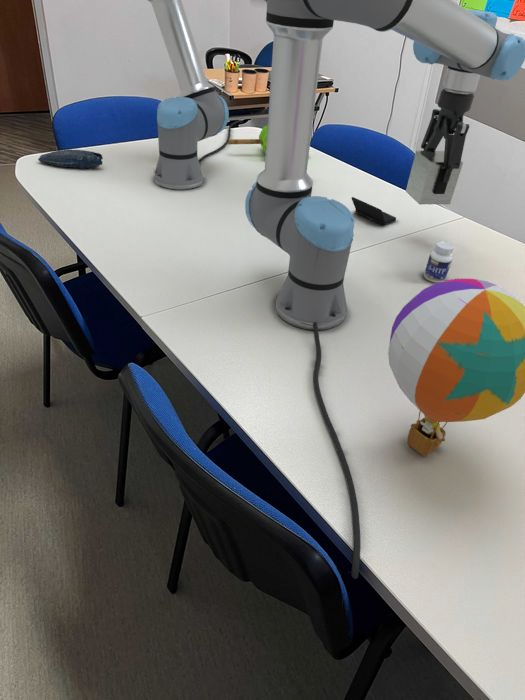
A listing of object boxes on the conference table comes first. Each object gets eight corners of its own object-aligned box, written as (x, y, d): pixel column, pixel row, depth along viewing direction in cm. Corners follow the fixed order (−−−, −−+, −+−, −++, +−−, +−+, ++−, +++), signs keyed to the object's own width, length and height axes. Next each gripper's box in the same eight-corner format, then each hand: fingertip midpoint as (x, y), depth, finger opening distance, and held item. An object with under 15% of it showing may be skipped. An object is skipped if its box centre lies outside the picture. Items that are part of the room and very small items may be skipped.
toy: (336, 437, 84) (375, 278, 66) (409, 388, 95) (460, 239, 76) (438, 521, 73) (519, 358, 55) (507, 455, 84) (595, 300, 65)
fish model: (99, 172, 164) (97, 156, 161) (35, 165, 165) (32, 149, 162) (106, 165, 170) (105, 149, 167) (44, 159, 171) (41, 143, 168)
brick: (449, 204, 133) (463, 162, 126) (419, 204, 131) (431, 162, 125) (434, 191, 139) (447, 151, 133) (405, 191, 138) (416, 150, 131)
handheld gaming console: (400, 212, 153) (393, 191, 145) (389, 233, 152) (381, 212, 144) (365, 206, 159) (356, 185, 151) (355, 225, 158) (345, 205, 150)
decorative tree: (225, 119, 187) (305, 119, 192) (225, 149, 194) (302, 148, 199) (232, 134, 173) (318, 133, 179) (232, 165, 180) (315, 164, 185)
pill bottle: (422, 279, 126) (432, 247, 121) (424, 270, 130) (434, 238, 125) (444, 285, 125) (455, 252, 120) (446, 275, 129) (457, 243, 124)
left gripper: (333, 20, 124) (320, 114, 138) (304, 6, 143) (296, 90, 156) (303, 18, 123) (293, 113, 136) (278, 5, 142) (271, 90, 155)
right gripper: (497, 103, 112) (464, 203, 126) (450, 80, 128) (425, 171, 142) (466, 101, 111) (436, 203, 125) (423, 79, 127) (400, 171, 141)
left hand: (294, 101), depth 146 cm, fingers open, 13 cm apart
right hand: (430, 186), depth 133 cm, fingers closed on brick, 8 cm apart
